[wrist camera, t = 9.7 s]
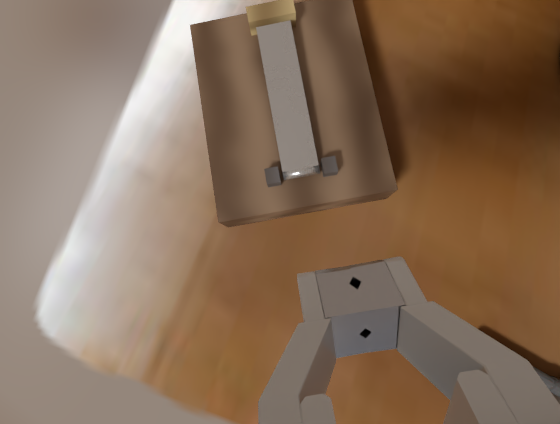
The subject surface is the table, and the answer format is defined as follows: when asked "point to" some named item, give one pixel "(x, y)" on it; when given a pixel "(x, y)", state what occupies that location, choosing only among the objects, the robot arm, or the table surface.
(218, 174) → the base
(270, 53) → the strap
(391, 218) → the table surface
